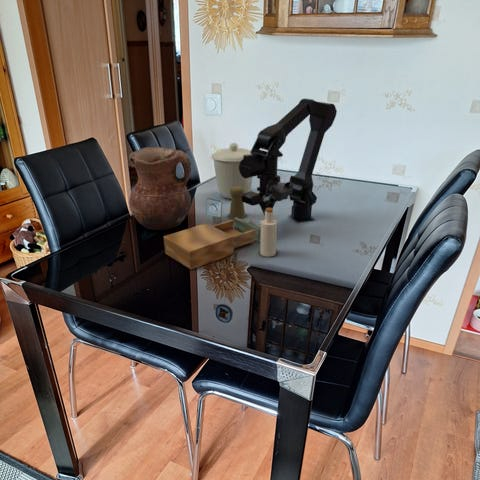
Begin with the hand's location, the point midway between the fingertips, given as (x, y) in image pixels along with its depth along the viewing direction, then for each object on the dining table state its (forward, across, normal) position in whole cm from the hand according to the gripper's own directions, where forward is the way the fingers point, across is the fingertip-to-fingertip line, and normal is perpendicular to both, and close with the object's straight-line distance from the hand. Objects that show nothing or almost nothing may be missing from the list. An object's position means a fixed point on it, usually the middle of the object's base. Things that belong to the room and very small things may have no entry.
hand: (267, 218), depth 149 cm
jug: (+5, -24, +30) cm, 39 cm away
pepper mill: (+5, +1, +18) cm, 18 cm away
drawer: (+4, -14, 0) cm, 15 cm away
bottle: (+4, -12, -14) cm, 19 cm away
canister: (+5, +15, +37) cm, 40 cm away
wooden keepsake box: (+4, -29, 0) cm, 29 cm away
